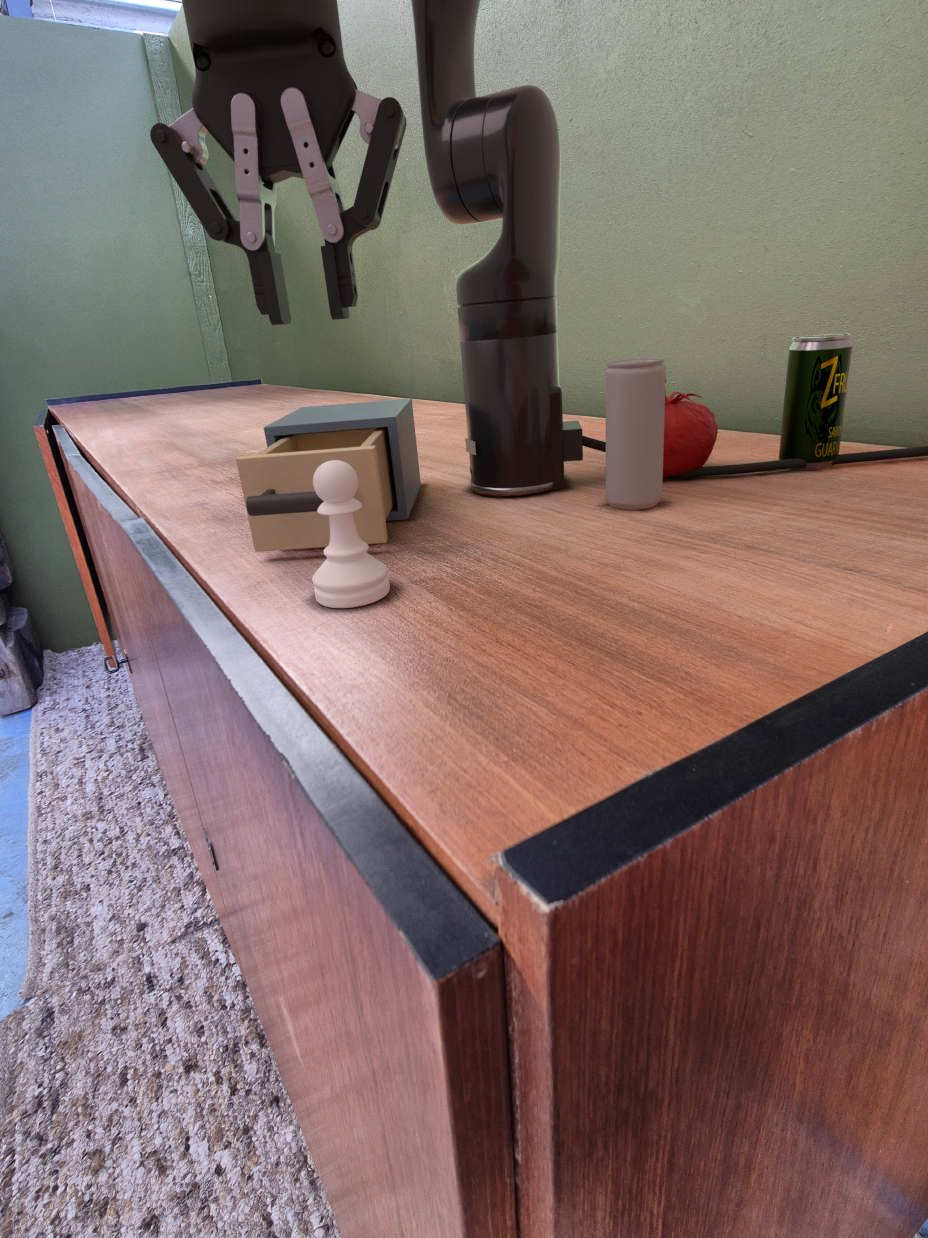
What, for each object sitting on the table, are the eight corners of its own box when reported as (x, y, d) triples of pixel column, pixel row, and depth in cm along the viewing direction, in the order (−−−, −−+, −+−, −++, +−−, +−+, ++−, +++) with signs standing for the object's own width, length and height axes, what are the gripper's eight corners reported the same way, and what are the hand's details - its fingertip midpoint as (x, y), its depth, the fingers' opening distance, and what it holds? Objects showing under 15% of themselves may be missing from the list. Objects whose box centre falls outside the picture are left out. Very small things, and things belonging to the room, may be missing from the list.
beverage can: (663, 510, 60) (667, 360, 56) (605, 511, 61) (604, 365, 57) (660, 496, 65) (664, 355, 60) (606, 497, 66) (606, 360, 61)
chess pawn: (337, 615, 45) (313, 473, 41) (303, 596, 48) (278, 463, 45) (404, 593, 47) (387, 457, 44) (367, 576, 51) (348, 449, 48)
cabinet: (407, 519, 64) (395, 416, 61) (282, 528, 65) (263, 427, 62) (421, 485, 77) (411, 398, 73) (315, 493, 78) (301, 407, 74)
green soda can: (767, 466, 72) (778, 338, 67) (797, 457, 74) (810, 333, 70) (818, 473, 68) (833, 337, 63) (848, 462, 70) (865, 332, 66)
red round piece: (723, 481, 68) (730, 379, 64) (616, 487, 69) (616, 386, 65) (705, 460, 77) (710, 369, 73) (610, 465, 78) (610, 376, 74)
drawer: (377, 562, 51) (363, 459, 48) (236, 571, 52) (214, 471, 49) (403, 502, 67) (394, 422, 64) (294, 510, 67) (280, 432, 64)
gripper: (403, -48, 37) (435, 310, 44) (144, -16, 38) (215, 330, 45) (383, -128, 30) (425, 311, 37) (68, -87, 31) (166, 334, 38)
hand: (310, 319), depth 41 cm, fingers open, 3 cm apart
